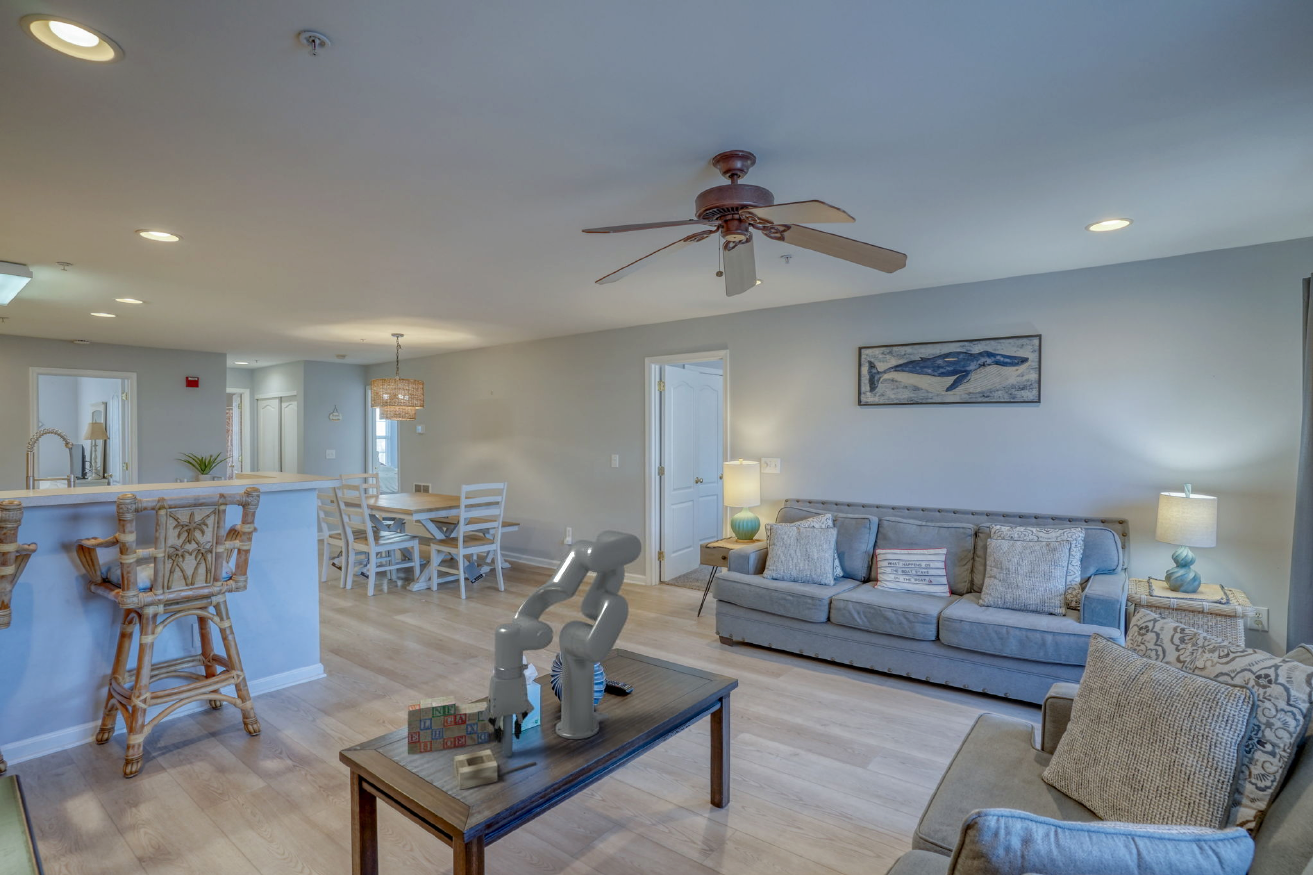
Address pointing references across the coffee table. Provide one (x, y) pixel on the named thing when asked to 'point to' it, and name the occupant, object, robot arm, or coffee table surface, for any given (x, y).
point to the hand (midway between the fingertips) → (507, 738)
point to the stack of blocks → (445, 724)
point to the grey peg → (507, 735)
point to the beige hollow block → (475, 769)
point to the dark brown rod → (517, 768)
